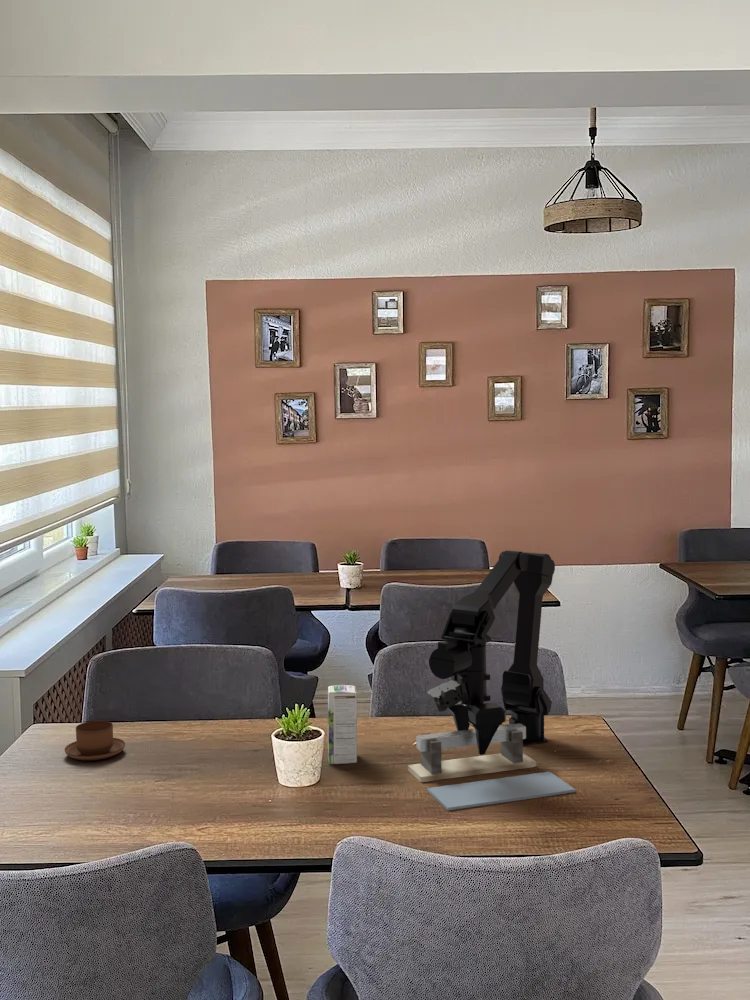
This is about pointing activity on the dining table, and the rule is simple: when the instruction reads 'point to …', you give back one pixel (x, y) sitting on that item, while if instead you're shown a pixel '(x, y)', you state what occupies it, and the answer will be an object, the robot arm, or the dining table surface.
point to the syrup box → (342, 724)
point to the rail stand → (471, 761)
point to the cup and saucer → (94, 741)
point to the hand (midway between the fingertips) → (471, 747)
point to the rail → (466, 737)
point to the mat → (499, 790)
